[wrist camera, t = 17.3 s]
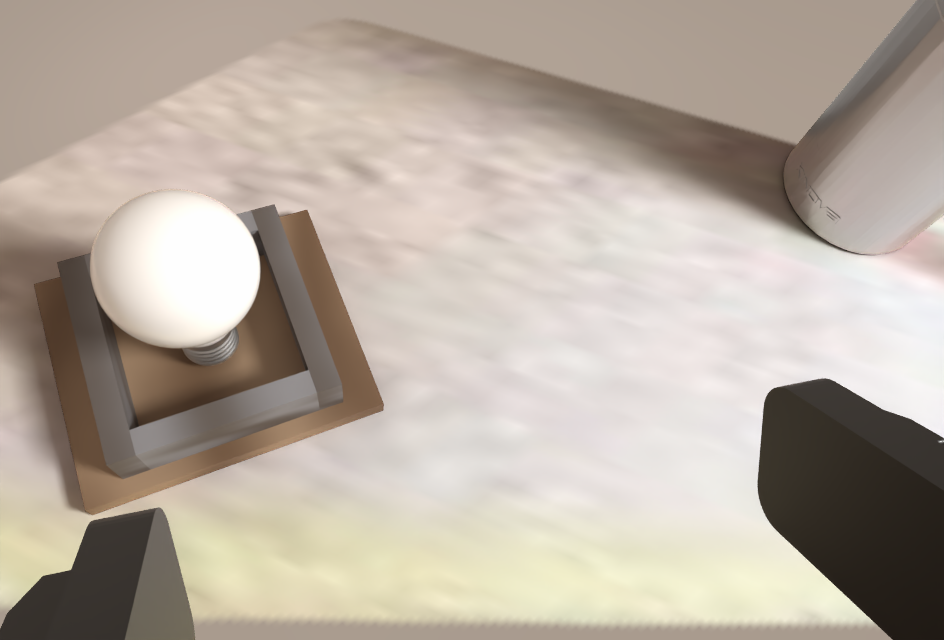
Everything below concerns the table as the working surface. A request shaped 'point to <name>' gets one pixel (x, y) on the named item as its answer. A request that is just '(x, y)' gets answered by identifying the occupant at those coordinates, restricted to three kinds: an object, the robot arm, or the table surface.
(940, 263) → the table surface
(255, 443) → the bulb stand
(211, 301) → the lightbulb
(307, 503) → the table surface
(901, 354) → the table surface
